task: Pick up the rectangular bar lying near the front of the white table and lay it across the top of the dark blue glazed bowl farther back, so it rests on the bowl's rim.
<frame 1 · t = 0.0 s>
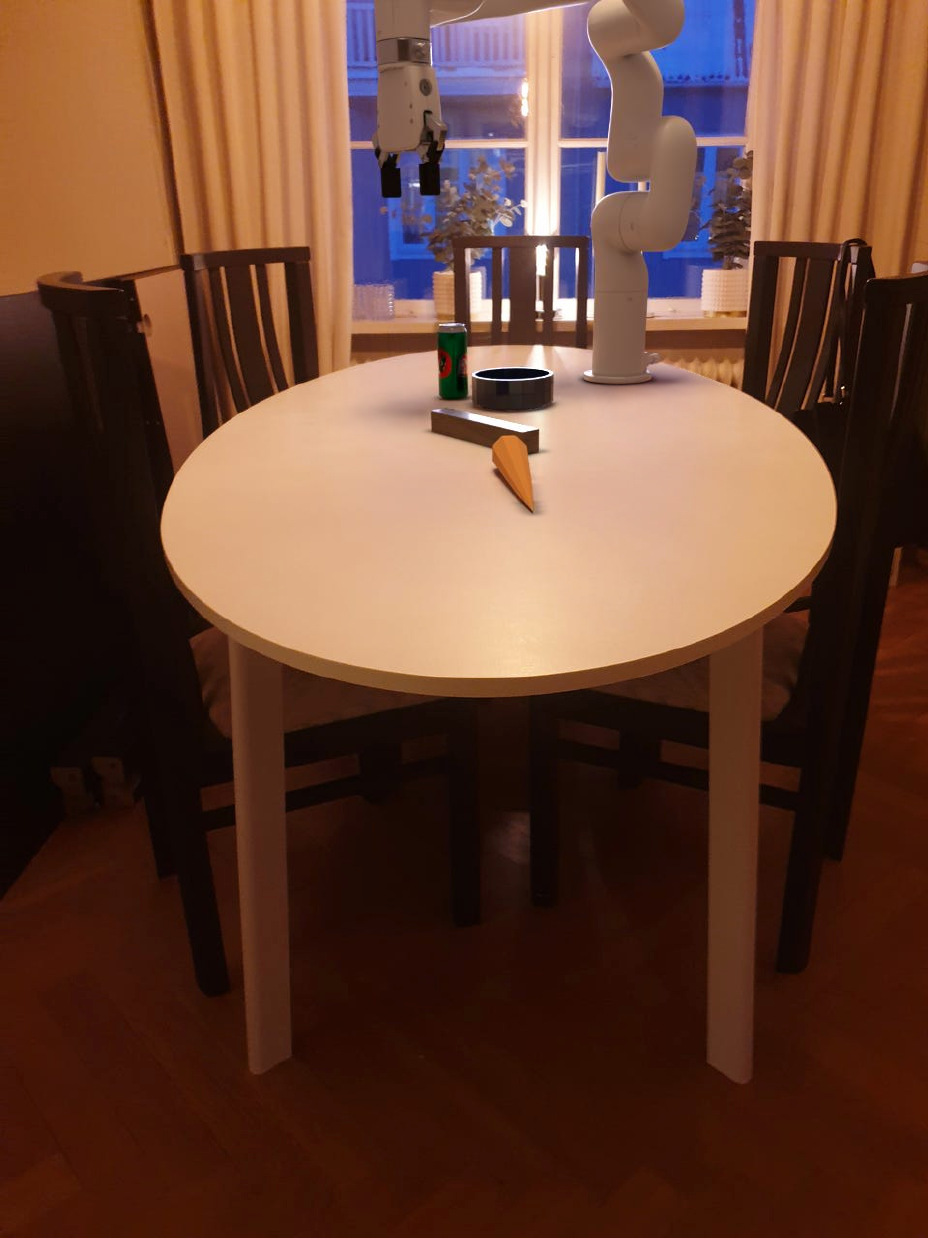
hand: (410, 196, 130), 31 cm above the table, tool pointing down, fingers open, 9 cm apart
carrot: (516, 489, 102), on the table
bread roll: (517, 392, 159), on the table
soda can: (453, 398, 155), on the table
rectangular bar: (482, 440, 124), on the table
bowl: (512, 404, 148), on the table
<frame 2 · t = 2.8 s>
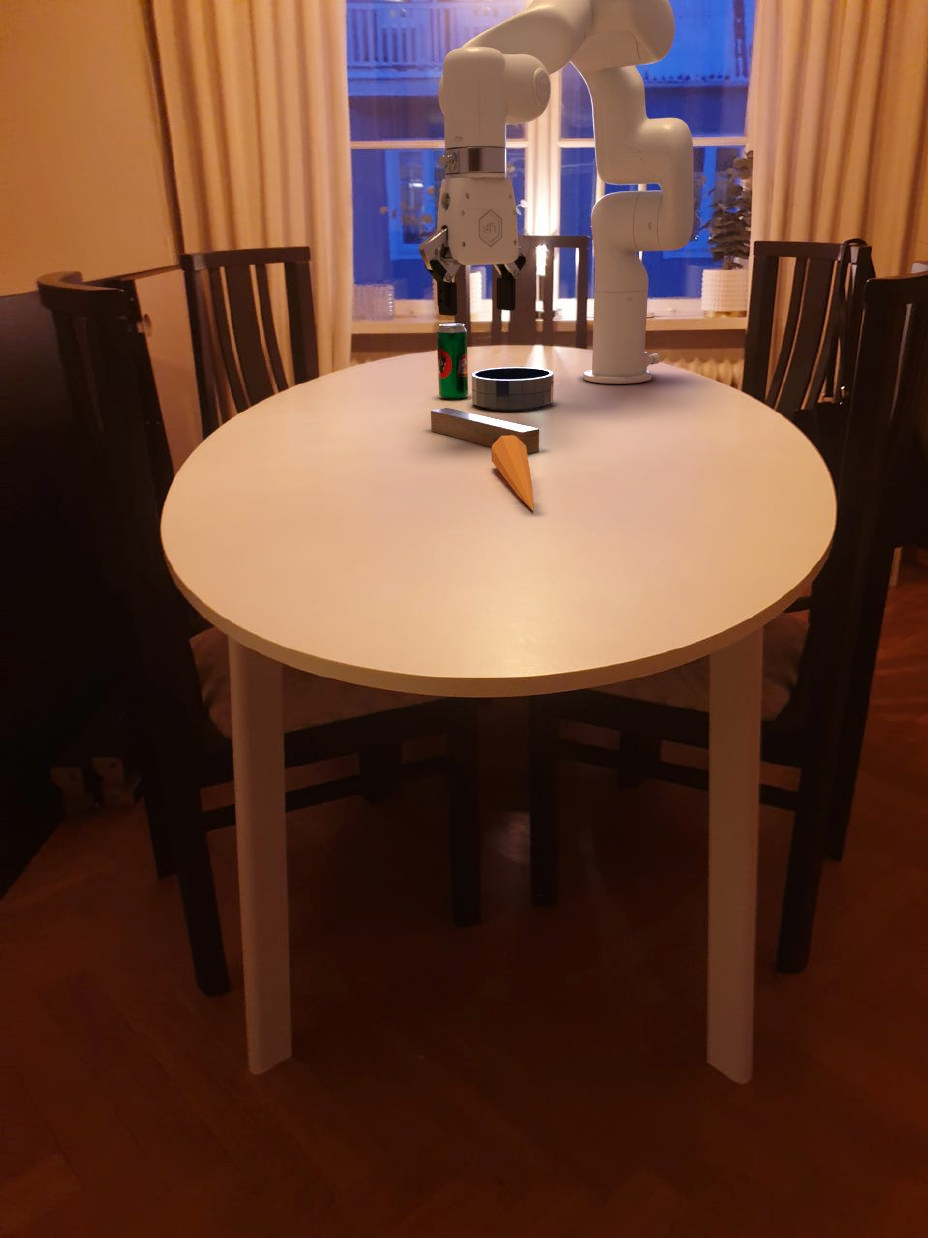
hand: (477, 312, 118), 17 cm above the table, tool pointing down, fingers open, 9 cm apart
nothing on the table moved.
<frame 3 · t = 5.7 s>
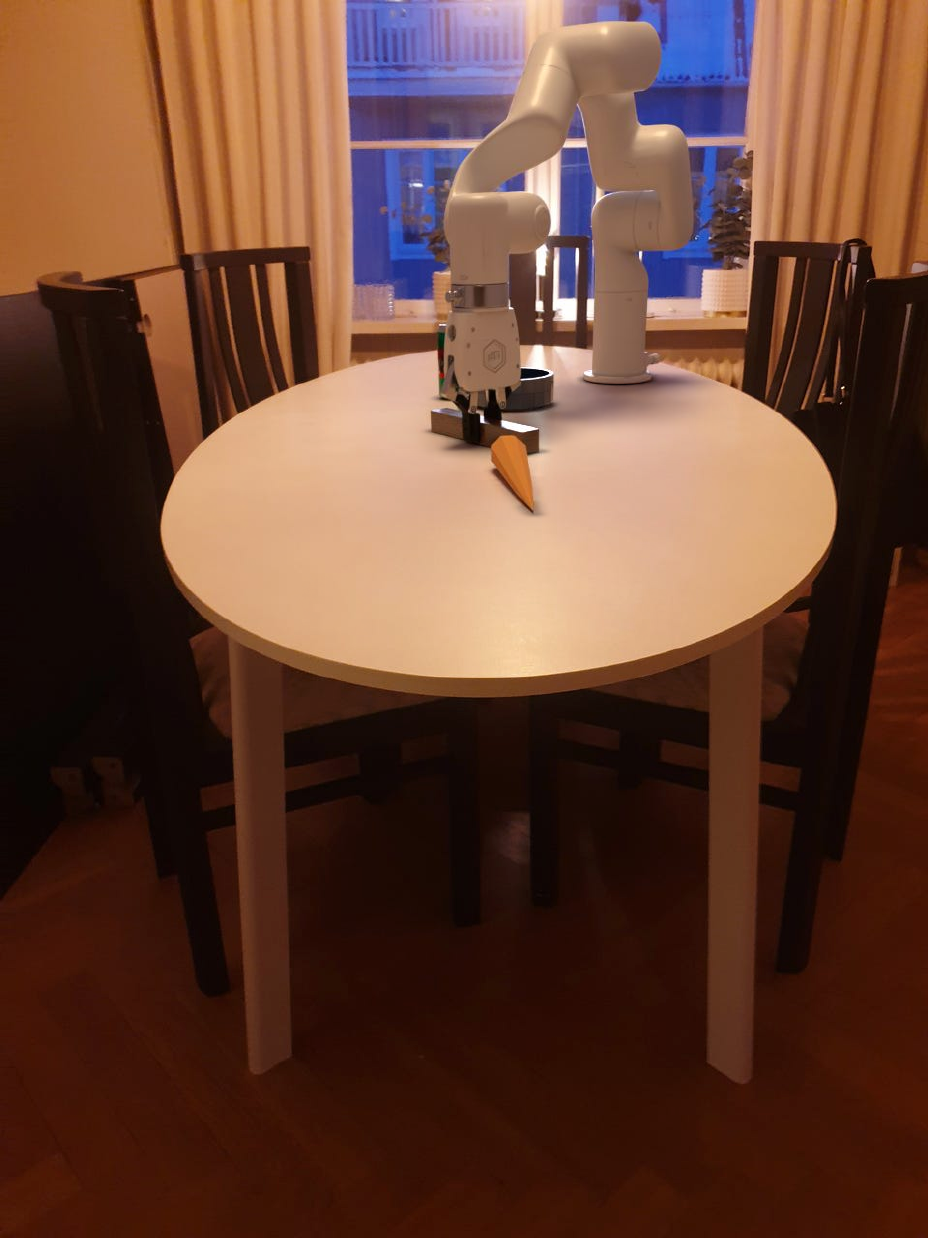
hand: (482, 437, 124), 0 cm above the table, tool pointing down, fingers closed on rectangular bar, 3 cm apart
rectangular bar: (482, 440, 124), on the table, touching gripper
everything else where it was.
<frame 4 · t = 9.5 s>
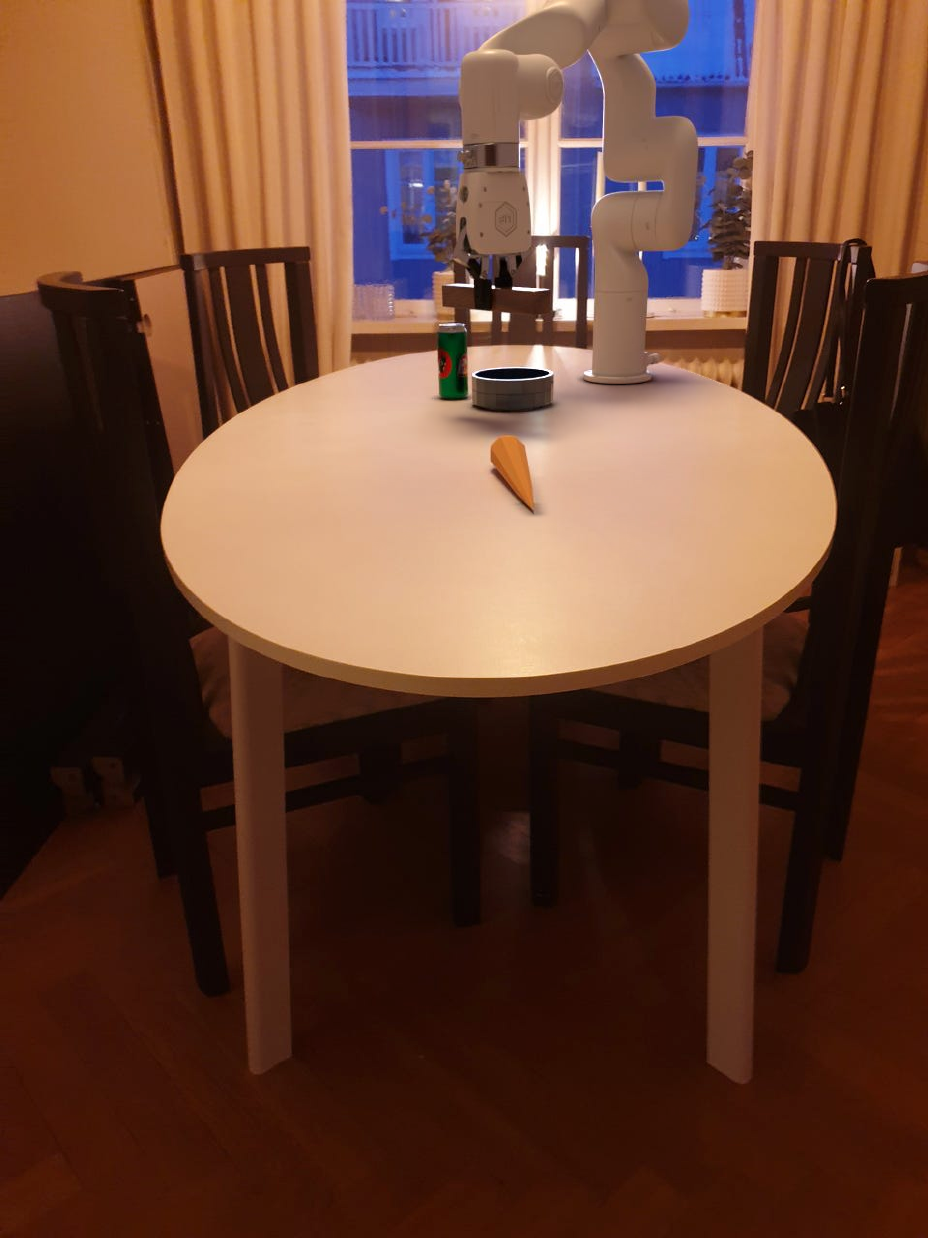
hand: (493, 306, 126), 17 cm above the table, tool pointing down, fingers closed on rectangular bar, 3 cm apart
rectangular bar: (493, 309, 126), point 16 cm above the table, touching gripper
everything else where it was.
when the fingers open (7 cm above the table, at t = 13.4 s): rectangular bar drops 3 cm, resting on bowl.
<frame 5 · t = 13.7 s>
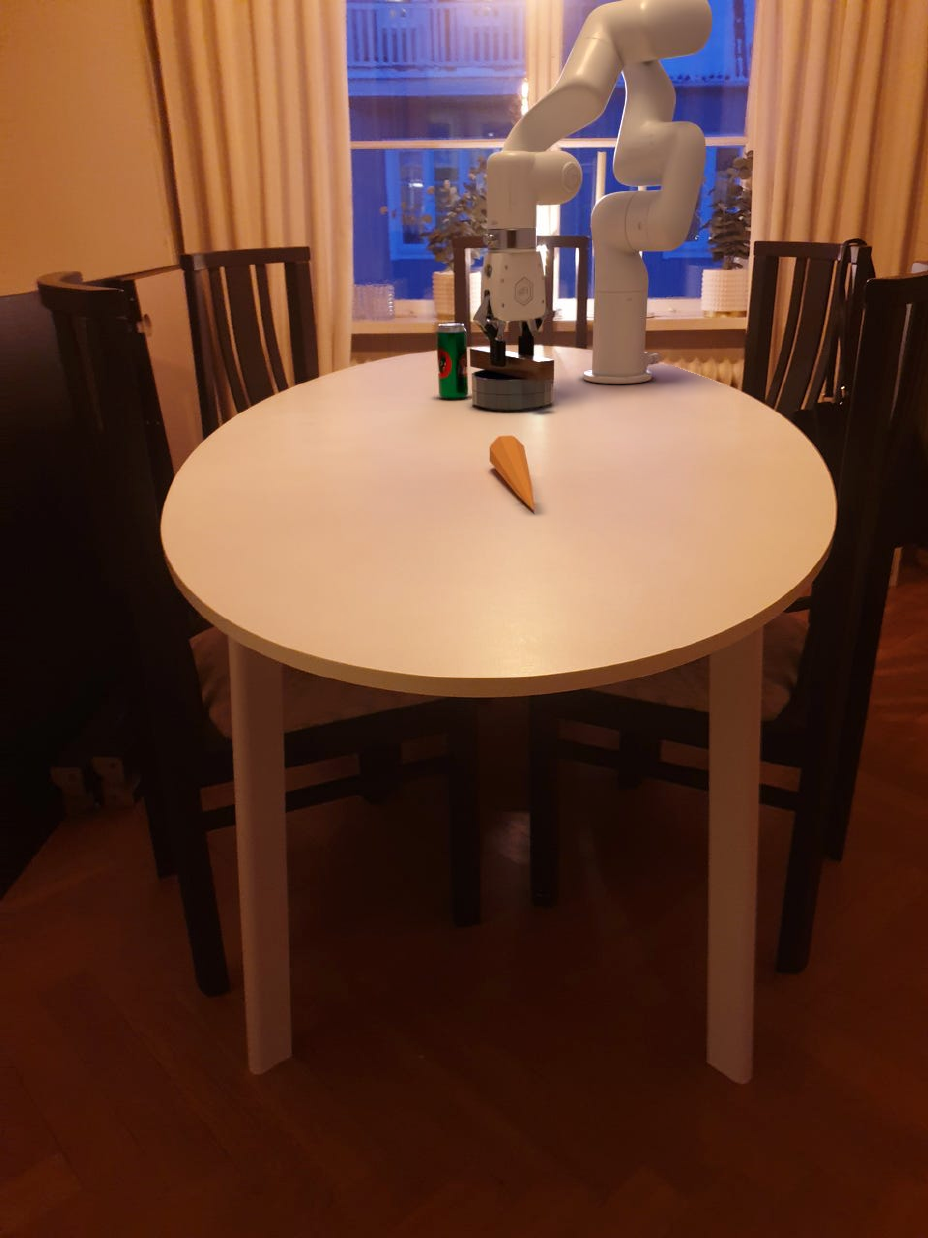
hand: (512, 362, 145), 7 cm above the table, tool pointing down, fingers open, 5 cm apart
rectangular bar: (510, 372, 146), point 5 cm above the table, touching bowl
everything else where it was.
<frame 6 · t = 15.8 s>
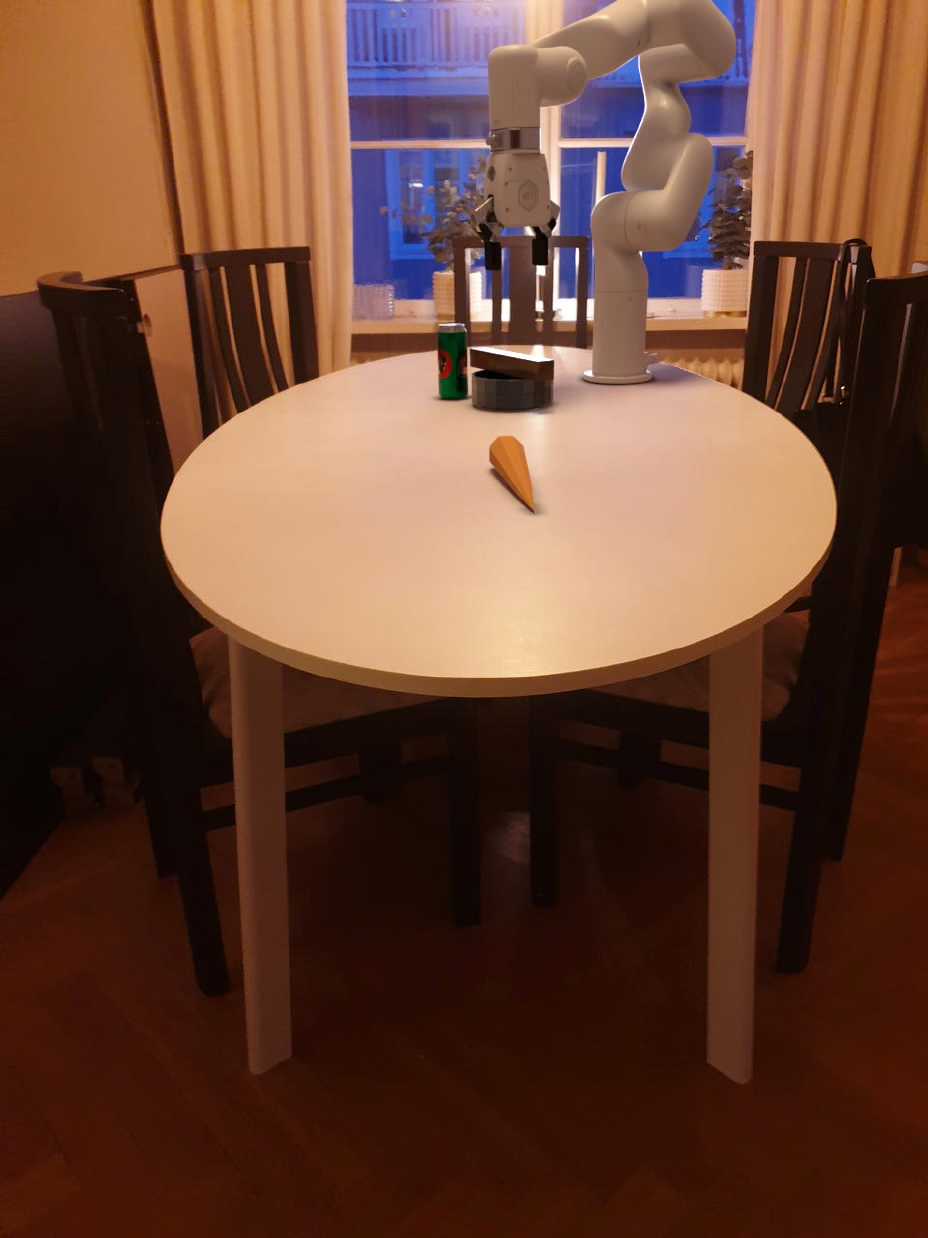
hand: (517, 267, 141), 21 cm above the table, tool pointing down, fingers open, 9 cm apart
nothing on the table moved.
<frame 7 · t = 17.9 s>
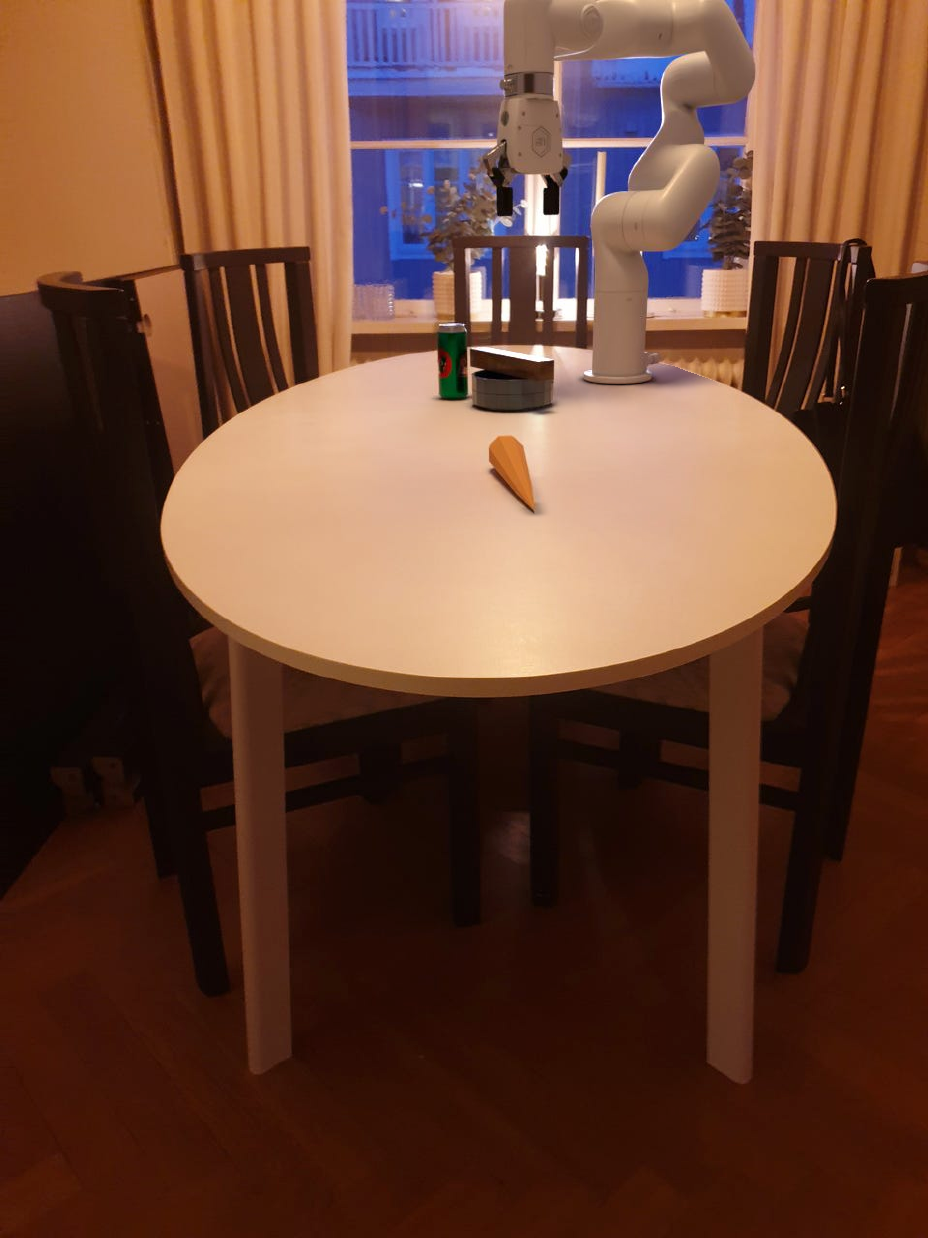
hand: (528, 215, 142), 28 cm above the table, tool pointing down, fingers open, 9 cm apart
nothing on the table moved.
at the end: rectangular bar inside the target area on the bowl (0.8 cm from its centre), point 5.0 cm above the bowl's base; rectangular bar touching bowl; the gripper is holding nothing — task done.
